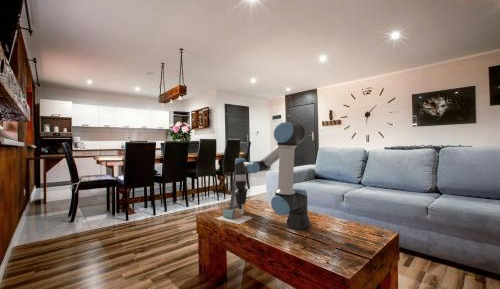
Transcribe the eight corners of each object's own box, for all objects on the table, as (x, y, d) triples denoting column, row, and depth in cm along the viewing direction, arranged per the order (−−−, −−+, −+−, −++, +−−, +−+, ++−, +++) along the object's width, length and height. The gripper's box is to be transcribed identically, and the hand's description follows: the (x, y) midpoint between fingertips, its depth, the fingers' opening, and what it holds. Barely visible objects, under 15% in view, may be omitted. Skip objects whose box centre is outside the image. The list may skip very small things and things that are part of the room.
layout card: (253, 217, 167) (253, 217, 167) (239, 224, 154) (239, 223, 154) (230, 213, 179) (230, 212, 179) (216, 218, 166) (216, 218, 166)
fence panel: (241, 214, 172) (241, 206, 172) (243, 214, 172) (243, 206, 172) (234, 217, 166) (234, 209, 166) (236, 217, 165) (235, 209, 165)
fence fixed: (235, 219, 164) (235, 209, 164) (234, 219, 163) (233, 209, 163) (224, 216, 171) (224, 207, 171) (222, 217, 169) (222, 207, 169)
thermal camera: (243, 212, 179) (242, 167, 179) (226, 212, 180) (225, 167, 180) (245, 208, 191) (244, 165, 191) (229, 208, 192) (228, 165, 192)
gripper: (242, 178, 175) (243, 210, 175) (230, 181, 164) (231, 214, 164) (250, 179, 170) (251, 211, 170) (239, 181, 160) (240, 216, 160)
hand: (241, 213), depth 167 cm, fingers closed
